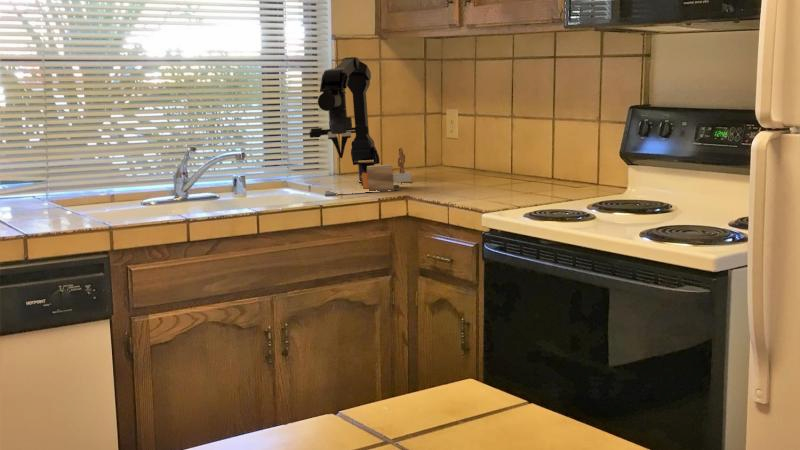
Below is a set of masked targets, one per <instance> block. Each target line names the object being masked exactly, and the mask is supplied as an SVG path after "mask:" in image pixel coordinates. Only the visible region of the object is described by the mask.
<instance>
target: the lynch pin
mask: <svg viewBox="0 0 800 450" xmlns="http://www.w3.org/2000/svg"><path fill="white" fill-rule="evenodd" d="M410 181H412V172H410V171H409V172H405V173H400V172H396V173H394V172H393V184H394V183H396V182H410ZM396 184H397V183H396ZM361 187H363V189H369V187H368V173H367V171H366V172H362V175H361Z"/></svg>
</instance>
